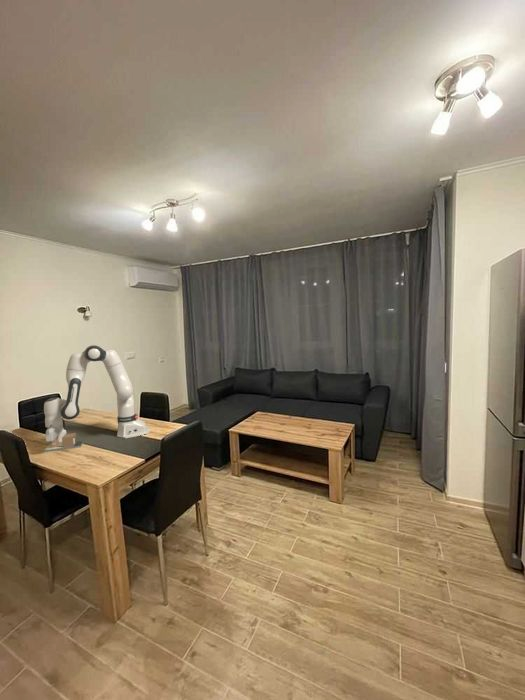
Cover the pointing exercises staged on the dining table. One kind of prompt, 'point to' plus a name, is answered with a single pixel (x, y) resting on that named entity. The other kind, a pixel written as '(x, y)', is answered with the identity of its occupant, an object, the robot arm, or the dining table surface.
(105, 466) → the dining table surface
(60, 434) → the medicine bottle
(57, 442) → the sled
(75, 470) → the dining table surface
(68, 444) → the tunnel board
